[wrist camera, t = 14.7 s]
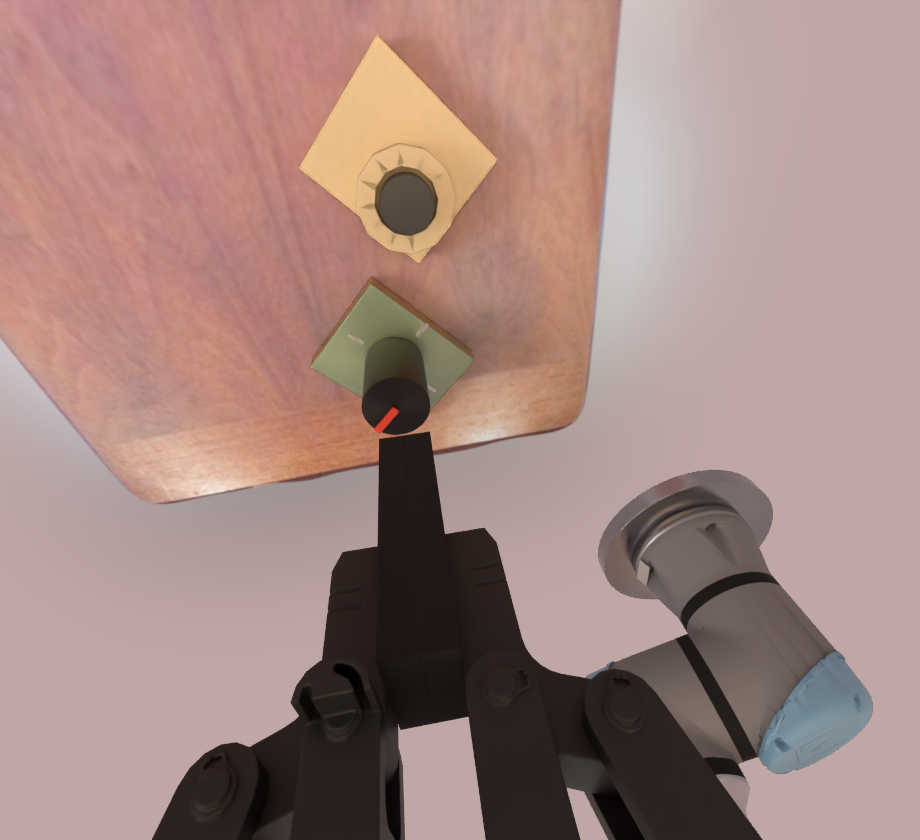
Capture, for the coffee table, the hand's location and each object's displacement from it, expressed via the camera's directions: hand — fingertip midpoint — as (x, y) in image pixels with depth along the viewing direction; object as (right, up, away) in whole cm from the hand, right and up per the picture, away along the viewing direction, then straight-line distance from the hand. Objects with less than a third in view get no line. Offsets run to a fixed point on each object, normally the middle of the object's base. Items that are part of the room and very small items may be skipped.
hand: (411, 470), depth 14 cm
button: (-2, +16, +16) cm, 23 cm away
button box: (-3, +20, +18) cm, 27 cm away
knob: (-4, +6, +25) cm, 26 cm away
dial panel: (-4, +7, +26) cm, 28 cm away
